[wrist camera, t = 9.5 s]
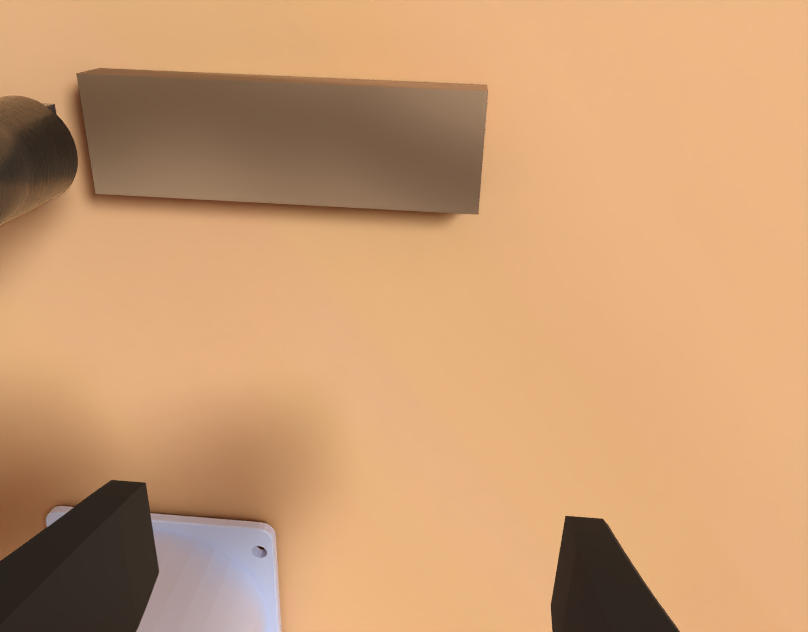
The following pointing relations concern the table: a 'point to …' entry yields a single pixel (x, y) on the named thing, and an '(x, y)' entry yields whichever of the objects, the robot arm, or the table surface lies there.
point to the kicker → (32, 156)
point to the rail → (285, 139)
